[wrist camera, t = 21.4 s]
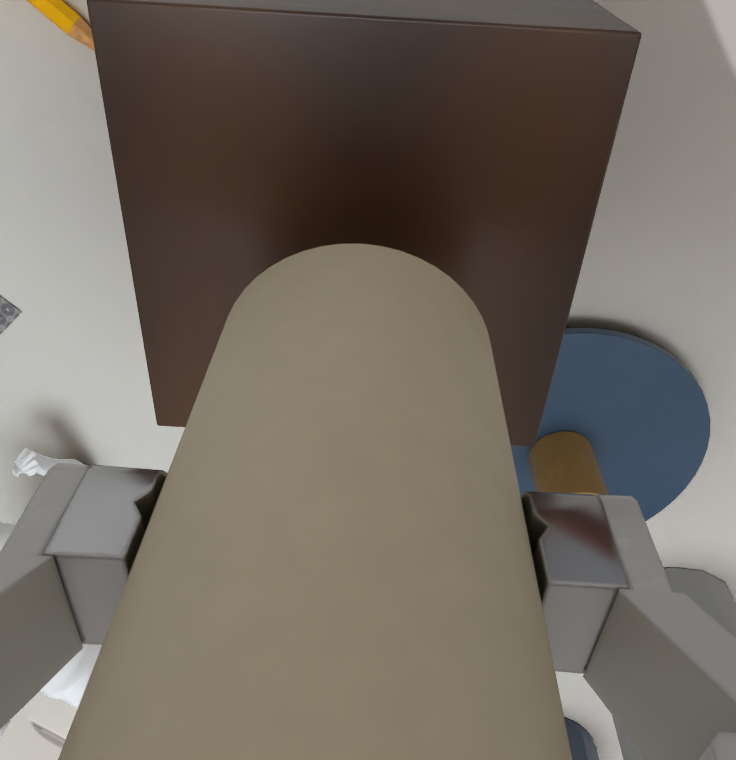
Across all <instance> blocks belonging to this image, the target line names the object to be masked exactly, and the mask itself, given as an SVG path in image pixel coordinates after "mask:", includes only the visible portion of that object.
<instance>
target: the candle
mask: <svg viewBox="0 0 736 760" xmlns="http://www.w3.org/2000/svg"><path fill="white" fill-rule="evenodd" d="M58 760H572V756H571V751H570V746H569V741H568V736H567V730H566V725H565V720H564V715H563V710H562V705H561V700H560V695H559V690H558V685H557V679H556V674H555V669H554V664H553V659H552V654H551V649H550V644H549V639H548V634H547V628H546V623H545V618H544V613H543V608H542V603H541V598H540V593H539V588H538V583H537V577H536V572H535V567H534V562H533V557H532V552H531V547H530V542H529V537H528V532H527V526H526V521H525V516H524V511H523V506H522V501H521V496H520V491H519V486H518V481H517V475H516V470H515V465H514V460H513V455H512V450H511V445H510V440H509V435H508V430H507V425H506V419H505V414H504V409H503V404H502V399H501V394H500V389H499V384H498V379H497V374H496V368H495V363H494V358H493V353H492V348H491V343H490V339H489V334H488V330H487V328H486V325H485V323H484V320H483V318H482V316H481V314H480V312H479V311H478V309H477V307H476V305H475V304H474V302H473V301H472V300H471V298H470V297H469V296H468V295H467V293H466V292H465V291H464V290H463V289H462V288H461V287H460V286H459V285H458V284H457V283H456V282H455V281H454V280H453V279H452V278H451V277H449V276H448V275H446V274H445V273H444V272H442V271H441V270H439V269H438V268H437V267H435V266H433V265H431V264H430V263H428V262H426V261H424V260H422V259H420V258H418V257H416V256H413V255H410V254H408V253H405V252H402V251H400V250H396V249H392V248H387V247H383V246H377V245H369V244H335V245H327V246H321V247H317V248H313V249H309V250H305V251H302V252H300V253H297V254H295V255H292V256H289V257H287V258H285V259H283V260H281V261H280V262H278V263H276V264H274V265H272V266H271V267H269V268H268V269H267V270H265V271H264V272H263V273H261V274H260V275H259V276H257V277H256V278H255V279H254V280H253V281H252V282H251V283H250V284H249V285H248V286H247V287H246V288H245V289H244V291H243V292H242V293H241V295H240V296H239V298H238V299H237V300H236V302H235V303H234V305H233V307H232V309H231V311H230V313H229V315H228V317H227V320H226V323H225V325H224V328H223V331H222V333H221V336H220V338H219V341H218V344H217V346H216V349H215V351H214V354H213V357H212V359H211V362H210V364H209V367H208V370H207V372H206V375H205V378H204V380H203V383H202V385H201V388H200V391H199V393H198V396H197V398H196V401H195V404H194V406H193V409H192V412H191V414H190V417H189V419H188V422H187V425H186V427H185V430H184V432H183V435H182V438H181V440H180V443H179V445H178V448H177V451H176V453H175V456H174V459H173V461H172V464H171V466H170V469H169V472H168V474H167V477H166V479H165V482H164V485H163V487H162V490H161V492H160V495H159V498H158V500H157V503H156V506H155V508H154V511H153V513H152V516H151V519H150V521H149V524H148V526H147V529H146V532H145V534H144V537H143V539H142V542H141V545H140V547H139V550H138V553H137V555H136V558H135V560H134V563H133V566H132V568H131V571H130V573H129V576H128V579H127V581H126V584H125V587H124V589H123V592H122V594H121V597H120V600H119V602H118V605H117V607H116V610H115V613H114V615H113V618H112V620H111V623H110V626H109V628H108V631H107V634H106V636H105V639H104V641H103V644H102V647H101V649H100V652H99V654H98V657H97V660H96V662H95V665H94V667H93V670H92V673H91V675H90V678H89V681H88V683H87V686H86V688H85V691H84V694H83V696H82V699H81V701H80V704H79V707H78V709H77V712H76V714H75V717H74V720H73V722H72V725H71V728H70V730H69V733H68V735H67V738H66V741H65V743H64V746H63V748H62V751H61V754H60V757H59V759H58Z"/></svg>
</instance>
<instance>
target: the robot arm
mask: <svg viewBox="0 0 736 760" xmlns="http://www.w3.org/2000/svg"><path fill="white" fill-rule="evenodd" d="M167 474H168V473H166V472H165V471H163V470H151V469H139V468H127V467H115V466H102V465H81V464H70V463H57V464H55V465H54V466H53V467H51V468H50V469H49V470H48V471H47V473H46V475H45V477H44V478H43V480H42V482H41V483H40V485H39V487H38V488H37V490H36V492H35V493H34V495H33V497H32V498H31V500H30V502H29V504H28V505H27V507H26V509H25V510H24V512H23V514H22V515H21V517H20V519H19V520H18V522H17V524H16V525H15V527H14V529H13V531H12V532H11V534H10V536H9V537H8V539H7V541H6V542H5V544H4V546H3V547H2V549H1V551H0V729H1V728H2V727H3V726H4V725H5V724H6V723H7V722H8V721H9V720H10V719H11V718H12V717H13V716H14V715H15V714H16V713H17V712H18V711H19V710H20V709H22V708H23V707H24V706H25V705H26V704H27V703H28V702H29V701H30V700H31V699H32V698H33V697H34V696H35V695H36V694H37V693H38V692H39V691H40V690H41V689H42V688H43V687H44V686H45V685H46V684H47V683H48V682H49V681H50V680H51V679H52V678H53V677H54V676H55V675H56V674H57V673H58V672H59V671H60V670H61V669H62V668H63V667H64V666H65V665H66V664H67V663H68V662H69V661H70V660H71V659H72V658H73V657H74V656H75V655H76V654H77V653H78V652H79V651H81V650H82V649H83V645H82V644H95V645H102V644H103V641H104V639H105V636H106V634H107V631H108V628H109V626H110V623H111V620H112V618H113V615H114V613H115V610H116V607H117V605H118V602H119V600H120V597H121V594H122V592H123V589H124V587H125V584H126V581H127V579H128V576H129V573H130V571H131V568H132V566H133V563H134V560H135V558H136V555H137V553H138V550H139V547H140V545H141V542H142V539H143V537H144V534H145V532H146V529H147V526H148V524H149V521H150V519H151V516H152V513H153V511H154V508H155V506H156V503H157V500H158V498H159V495H160V492H161V490H162V487H163V485H164V482H165V479H166V477H167ZM521 501H522V506H523V511H524V516H525V521H526V526H527V532H528V537H529V542H530V547H531V552H532V557H533V562H534V567H535V572H536V577H537V583H538V588H539V593H540V598H541V603H542V608H543V613H544V618H545V623H546V628H547V634H548V639H549V644H550V649H551V654H552V659H553V664H554V669H555V671H561V672H573V673H584V676H583V677H584V678H585V679H586V681H587V682H588V683H589V685H590V686H591V687H592V689H593V690H594V691H595V693H596V694H597V695H598V696H599V698H600V699H601V700H602V702H603V703H604V704H605V706H606V707H607V708H608V710H609V711H610V712H611V714H612V715H613V716H614V717H615V719H616V720H617V721H618V723H619V724H620V725H621V727H622V728H623V729H624V731H625V732H626V733H627V735H628V736H629V737H630V738H631V740H632V741H633V742H634V744H635V745H636V746H637V748H638V749H639V750H640V752H641V753H642V754H643V756H644V757H645V758H646V759H647V760H736V638H735V637H734V636H733V635H732V634H731V633H730V632H728V631H727V630H726V629H725V628H724V627H723V626H722V625H720V624H719V623H718V622H717V621H716V620H715V619H714V618H712V617H711V616H710V615H709V614H708V613H707V612H705V611H704V610H703V609H702V608H701V607H700V606H699V605H697V604H696V603H695V602H694V601H693V600H692V599H691V598H689V597H688V596H687V595H686V594H685V593H679V592H673V591H672V588H671V586H670V583H669V581H668V578H667V576H666V573H665V571H664V568H663V565H662V563H661V560H660V558H659V555H658V553H657V550H656V548H655V545H654V542H653V540H652V537H651V535H650V532H649V530H648V527H647V525H646V522H645V520H644V517H643V514H642V512H641V509H640V507H639V504H638V502H637V501H636V500H635V499H634V498H633V497H632V496H618V495H595V496H594V495H592V494H573V493H553V492H532V491H524V493H523V494H522V496H521Z"/></svg>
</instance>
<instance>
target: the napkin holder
mask: <svg viewBox="0 0 736 760" xmlns="http://www.w3.org/2000/svg"><path fill="white" fill-rule="evenodd" d="M20 313H21V312H20V311H19V310H18V309H16V308H15V307H14V306H12V305H11V304H10V303H8V302H7V301H6V300H4V299H3V298H2V297H0V334H1V333H2V332H3V331H4V330H5V329H6V328H7V327H8V326H9V324H10V323H11V322H12V321H13V320H14V319H15V318H16V317H17V316H18V315H19V314H20Z"/></svg>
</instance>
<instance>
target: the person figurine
mask: <svg viewBox="0 0 736 760" xmlns="http://www.w3.org/2000/svg"><path fill="white" fill-rule="evenodd" d="M14 463H15V464H16V466H15V467H14V468H13V469H12V474H14V475H15V476H17V477H19V476H20V473H25V474H27V475H28V476H32V475H34V474H36V473H38V474H40V475H44V476H45V475H46V473H47V471H48V470H49V469H50V468H51V467H53V466H54V465H55V464H57V463H70V464H81V465H84V464H83V463H81V462H80V461H77V460H75V459H55V458H51V457H46V456H44V455H41V454H39V453H36V452H34V451H32V450H30V449H27V448H25V449H24V450H23V451H22V452H21V454H20V455H19V456H18V458H17V459H16V460H15V462H14ZM35 472H36V473H35ZM14 527H15V524H10V523H4V522H0V551H1V549H2V547H3V546H4V544H5V542H6V541H7V539H8V537H9V536H10V534H11V532H12V531H13V529H14ZM82 645H83V649H82V650H81V651H79V652H78V653H77V654H76V655H75V656H74V657H73V658H72V659H71V660H70V661H69V662H68V663H67V664H66V665H65V666H64V667H63V668H62V669H61V670H60V671H59V672H58V673H57V674H56V675H55V676H54V677H53V678H52V679H51V680H50V681H49V682H48V683H47V684H46V685H45V686H44V687H43V688H42V689H41V690H40V691H41V692H42V693H43V694H45V695H46V696H47V697H50V698H55V699H60V700H65V701H66V702H67V703H68V704H70V705H71V706H73V707H74V708H75V709H76V710H77V709H78V707H79V704H80V701H81V699H82V696H83V694H84V691H85V688H86V686H87V683H88V681H89V678H90V675H91V673H92V670H93V667H94V665H95V662H96V660H97V657H98V654H99V652H100V649H101V647H102V645H95V644H82ZM9 723H10V720H9V721H8V722H7V723H6V724H5V725H4V726H3V727H2V728H1V729H0V739H1V737H2V735H3V733H4V730H5V729H6V727H7V726H8V724H9Z"/></svg>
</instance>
